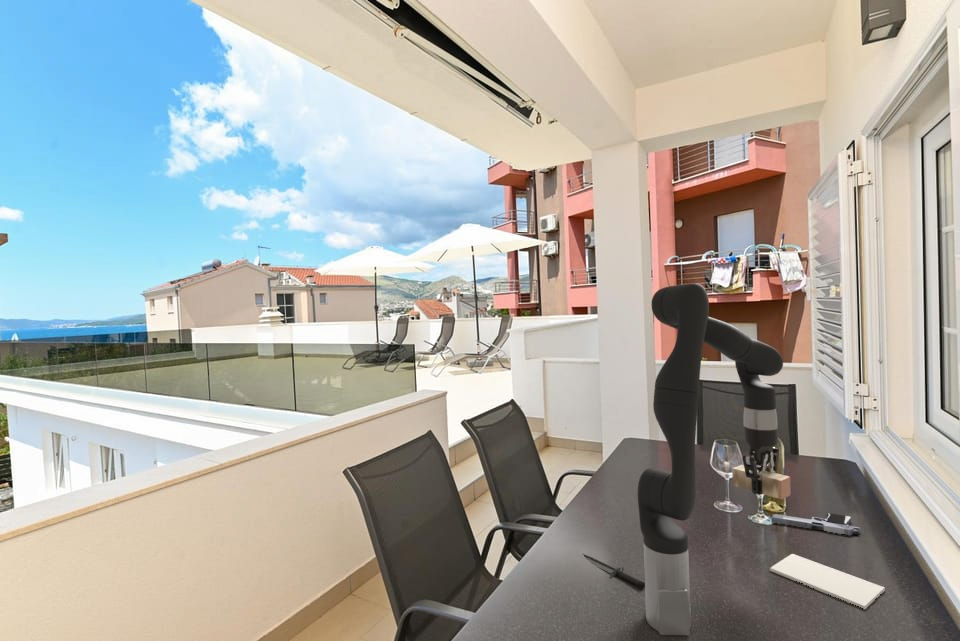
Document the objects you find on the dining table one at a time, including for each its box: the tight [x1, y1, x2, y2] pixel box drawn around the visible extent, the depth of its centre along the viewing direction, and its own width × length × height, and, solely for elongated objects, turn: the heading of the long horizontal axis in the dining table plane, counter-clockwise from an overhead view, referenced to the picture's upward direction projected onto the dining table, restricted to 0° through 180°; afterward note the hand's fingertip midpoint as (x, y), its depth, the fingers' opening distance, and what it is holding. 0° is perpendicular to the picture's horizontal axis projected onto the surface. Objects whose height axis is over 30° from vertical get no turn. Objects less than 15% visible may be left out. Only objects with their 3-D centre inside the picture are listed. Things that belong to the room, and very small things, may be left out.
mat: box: [769, 553, 886, 610], centre depth 117 cm, size 20×12×1 cm, turn 33°
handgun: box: [771, 512, 861, 536], centre depth 149 cm, size 2×22×12 cm
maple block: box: [731, 464, 792, 500], centre depth 122 cm, size 5×5×12 cm
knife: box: [582, 553, 645, 589], centre depth 127 cm, size 25×2×5 cm
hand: (762, 491), depth 121 cm, fingers closed on maple block, 4 cm apart
